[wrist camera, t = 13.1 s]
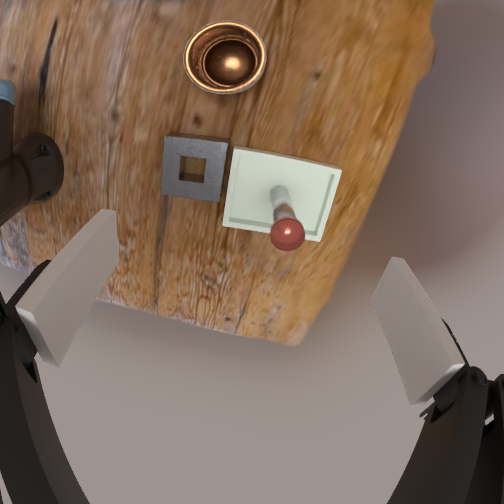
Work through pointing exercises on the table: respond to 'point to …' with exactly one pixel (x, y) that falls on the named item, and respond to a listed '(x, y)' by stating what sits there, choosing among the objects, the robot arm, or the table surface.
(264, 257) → the table surface
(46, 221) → the table surface
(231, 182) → the tray
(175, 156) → the block
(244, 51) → the planter
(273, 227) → the red capped tube
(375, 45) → the table surface
